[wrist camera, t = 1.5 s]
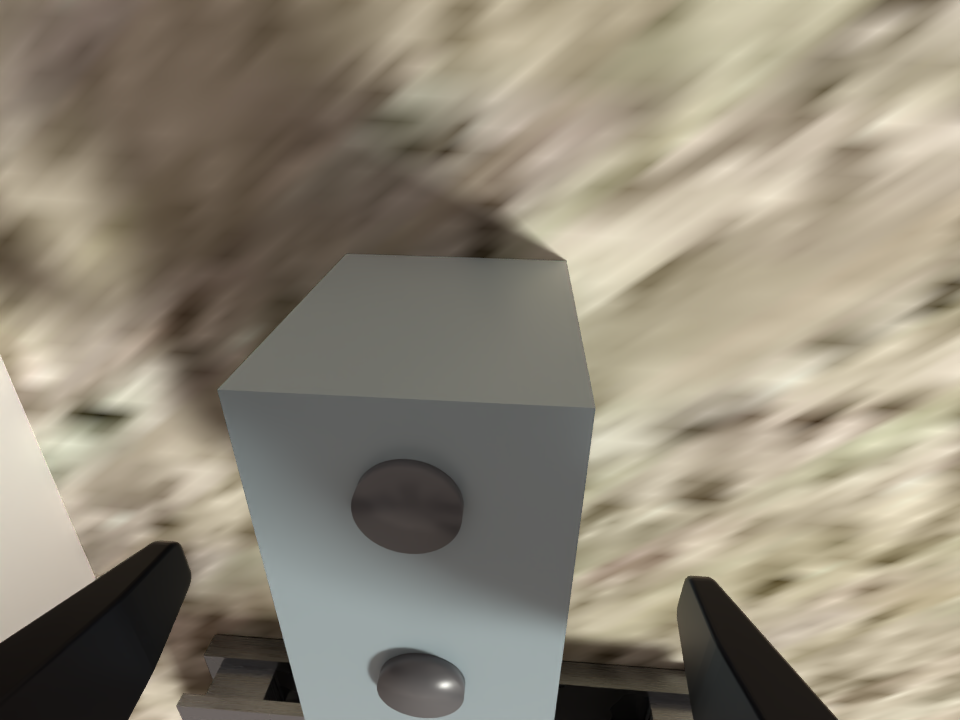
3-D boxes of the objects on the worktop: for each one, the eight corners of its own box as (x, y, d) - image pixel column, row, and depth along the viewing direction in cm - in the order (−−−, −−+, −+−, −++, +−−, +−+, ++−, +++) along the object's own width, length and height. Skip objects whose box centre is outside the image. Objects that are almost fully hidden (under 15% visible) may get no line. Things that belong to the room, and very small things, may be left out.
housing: (565, 259, 12) (598, 419, 7) (543, 520, 16) (551, 757, 11) (347, 252, 12) (207, 400, 7) (376, 510, 16) (301, 735, 11)
